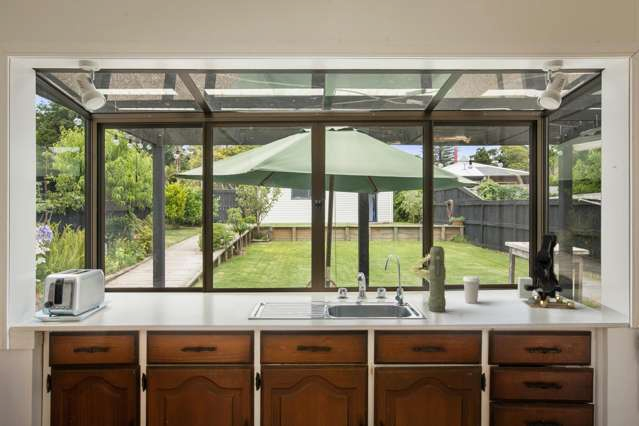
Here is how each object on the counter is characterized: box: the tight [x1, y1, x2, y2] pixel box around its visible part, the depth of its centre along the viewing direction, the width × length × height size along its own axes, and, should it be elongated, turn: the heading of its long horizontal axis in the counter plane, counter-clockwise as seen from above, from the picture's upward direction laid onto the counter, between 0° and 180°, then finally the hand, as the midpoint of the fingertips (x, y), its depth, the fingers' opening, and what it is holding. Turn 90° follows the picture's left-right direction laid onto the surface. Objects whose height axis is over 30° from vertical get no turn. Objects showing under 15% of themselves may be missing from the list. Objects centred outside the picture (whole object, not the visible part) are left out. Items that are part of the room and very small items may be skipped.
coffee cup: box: [462, 275, 481, 305], centre depth 238 cm, size 10×10×15 cm
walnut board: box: [522, 300, 579, 310], centre depth 230 cm, size 17×24×1 cm
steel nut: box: [527, 297, 538, 305], centre depth 231 cm, size 5×5×3 cm
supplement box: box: [517, 276, 534, 299], centre depth 250 cm, size 7×7×13 cm
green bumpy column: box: [428, 245, 447, 313], centre depth 220 cm, size 9×12×35 cm
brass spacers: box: [533, 294, 575, 310], centre depth 230 cm, size 16×17×4 cm
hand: (542, 303), depth 231 cm, fingers closed
